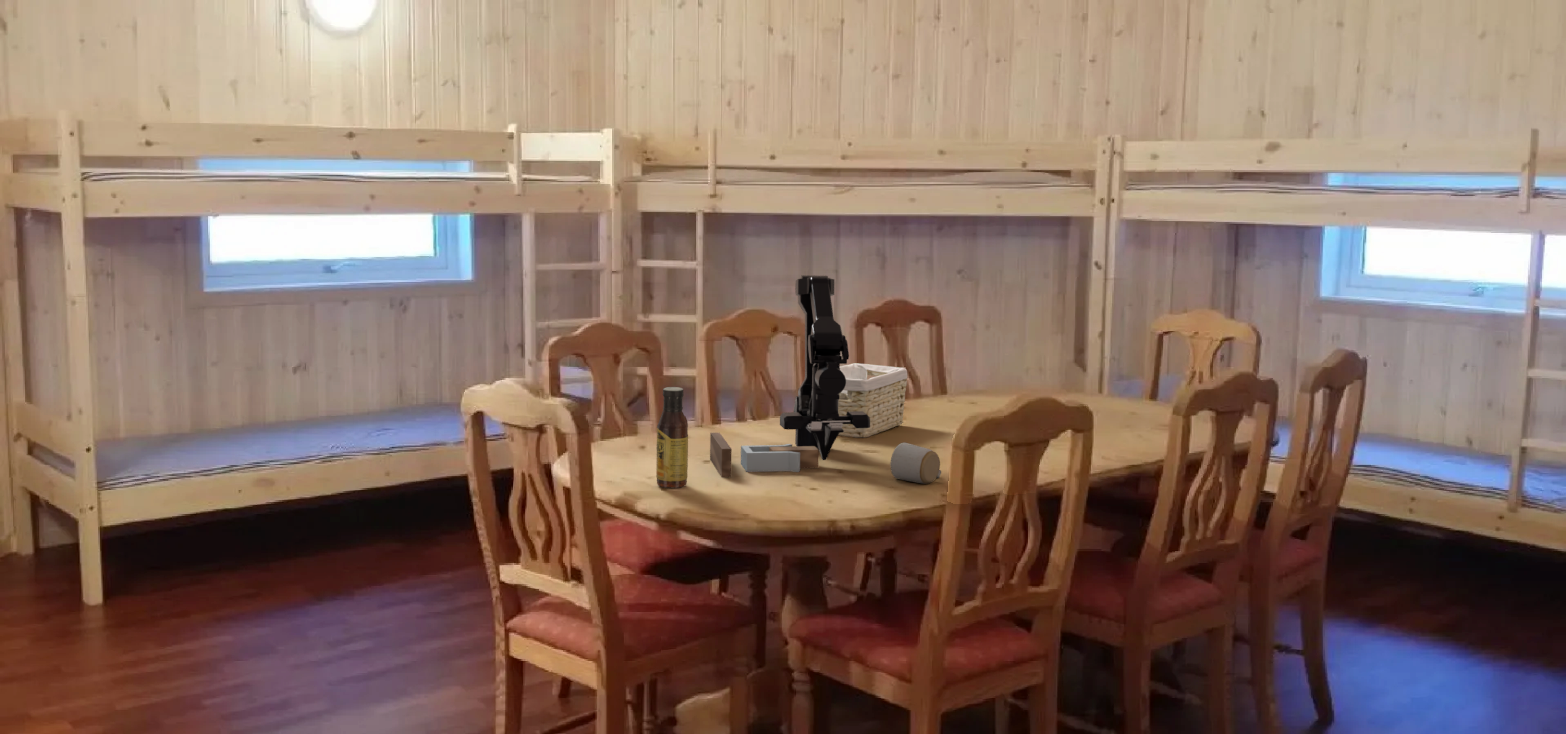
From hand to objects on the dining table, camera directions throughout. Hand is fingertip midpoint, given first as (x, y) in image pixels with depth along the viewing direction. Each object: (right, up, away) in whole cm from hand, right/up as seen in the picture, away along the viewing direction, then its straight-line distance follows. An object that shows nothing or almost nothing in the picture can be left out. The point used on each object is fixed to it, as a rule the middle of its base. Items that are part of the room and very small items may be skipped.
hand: (824, 459), depth 311 cm
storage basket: (+10, +4, +45) cm, 46 cm away
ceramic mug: (+19, -4, -11) cm, 23 cm away
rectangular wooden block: (-7, -1, -1) cm, 7 cm away
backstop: (-22, -2, -4) cm, 23 cm away
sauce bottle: (-31, -4, -22) cm, 38 cm away
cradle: (-12, -2, -2) cm, 12 cm away
